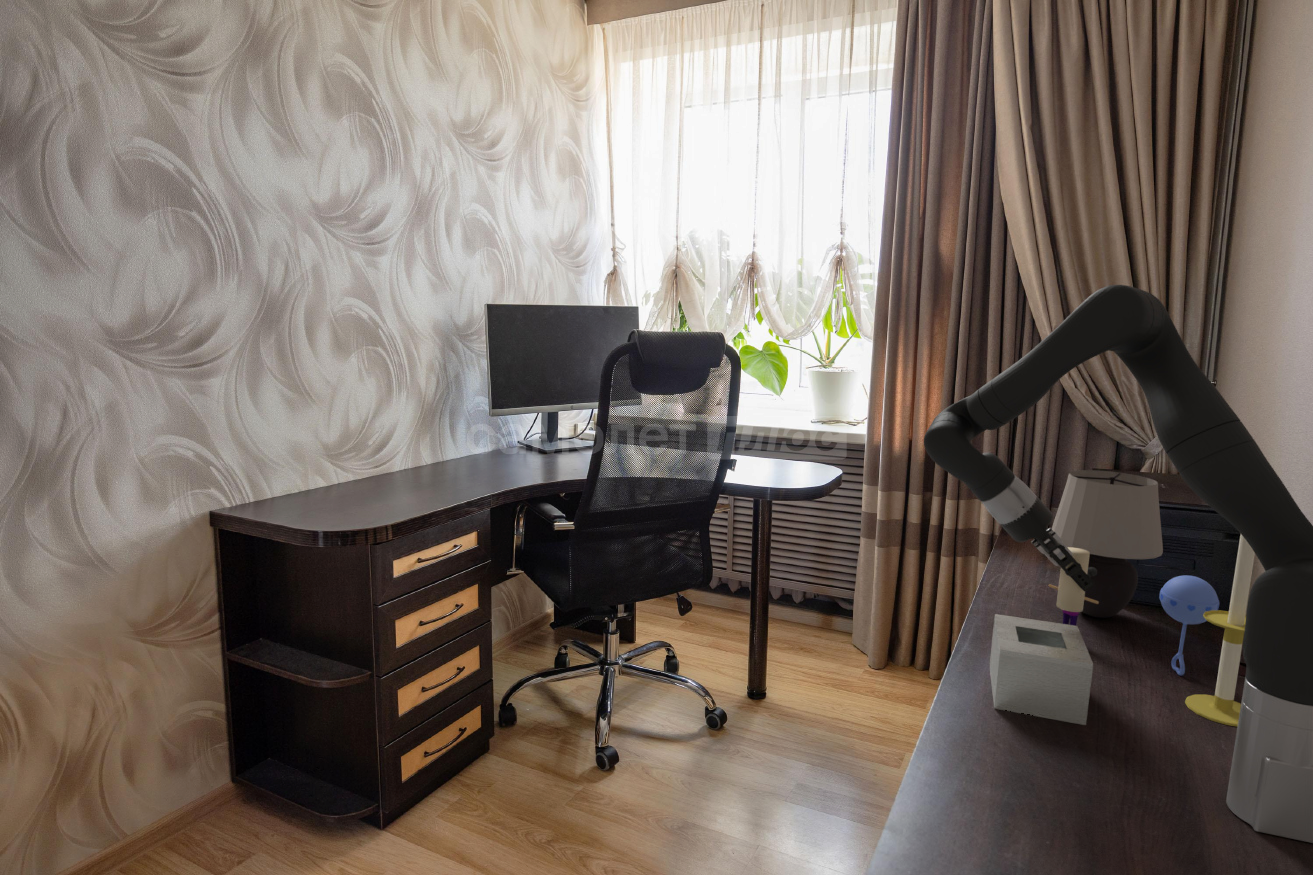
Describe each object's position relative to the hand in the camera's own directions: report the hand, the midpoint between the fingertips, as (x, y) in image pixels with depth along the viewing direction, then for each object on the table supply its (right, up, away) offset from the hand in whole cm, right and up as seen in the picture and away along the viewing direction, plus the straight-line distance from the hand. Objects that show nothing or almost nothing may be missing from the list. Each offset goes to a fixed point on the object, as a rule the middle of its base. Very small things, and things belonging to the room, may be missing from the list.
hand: (1085, 582), depth 131 cm
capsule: (-2, -4, +1) cm, 5 cm away
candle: (+19, -20, -6) cm, 28 cm away
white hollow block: (-9, -18, -2) cm, 21 cm away
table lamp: (+21, -13, +35) cm, 43 cm away
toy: (+9, -15, +21) cm, 28 cm away
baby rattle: (+21, -18, +7) cm, 28 cm away
